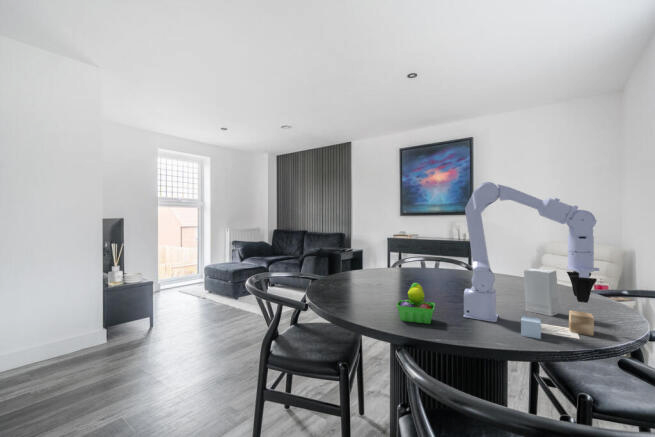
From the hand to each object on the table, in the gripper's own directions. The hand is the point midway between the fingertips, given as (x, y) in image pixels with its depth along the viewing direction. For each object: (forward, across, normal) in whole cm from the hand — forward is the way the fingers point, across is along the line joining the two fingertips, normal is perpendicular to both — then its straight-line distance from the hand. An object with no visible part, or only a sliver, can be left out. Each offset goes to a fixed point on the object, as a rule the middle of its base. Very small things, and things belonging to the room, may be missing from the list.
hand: (580, 299), depth 88 cm
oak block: (+9, 0, 0) cm, 9 cm away
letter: (+9, -3, +7) cm, 12 cm away
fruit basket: (+10, -15, +43) cm, 47 cm away
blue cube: (+10, -11, +12) cm, 19 cm away
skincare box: (+10, +16, +9) cm, 21 cm away
